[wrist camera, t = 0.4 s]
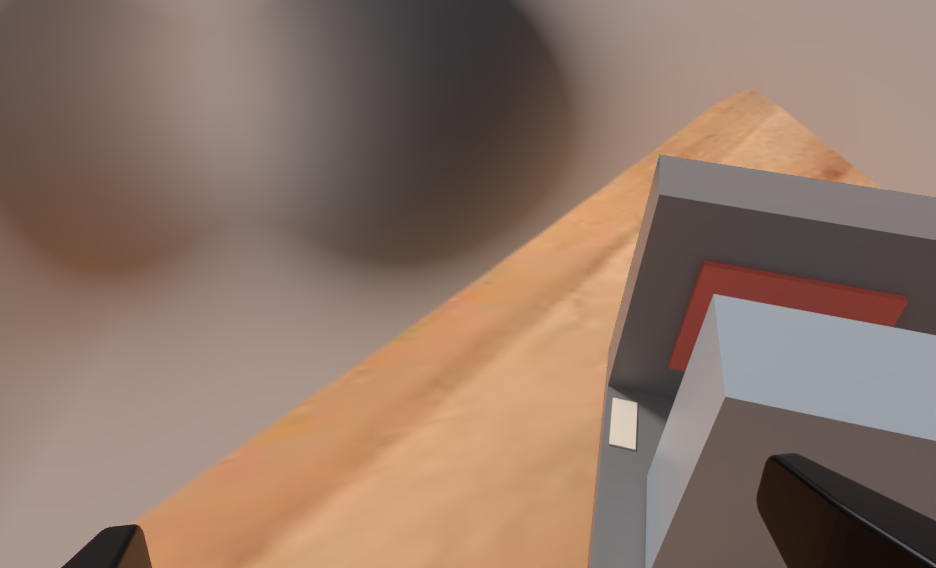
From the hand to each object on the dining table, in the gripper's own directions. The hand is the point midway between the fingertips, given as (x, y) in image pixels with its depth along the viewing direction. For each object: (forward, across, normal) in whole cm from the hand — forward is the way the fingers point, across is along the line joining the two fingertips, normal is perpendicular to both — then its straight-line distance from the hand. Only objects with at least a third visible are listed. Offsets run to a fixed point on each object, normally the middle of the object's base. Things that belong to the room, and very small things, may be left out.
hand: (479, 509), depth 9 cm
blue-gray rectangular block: (+9, -14, +13) cm, 21 cm away
